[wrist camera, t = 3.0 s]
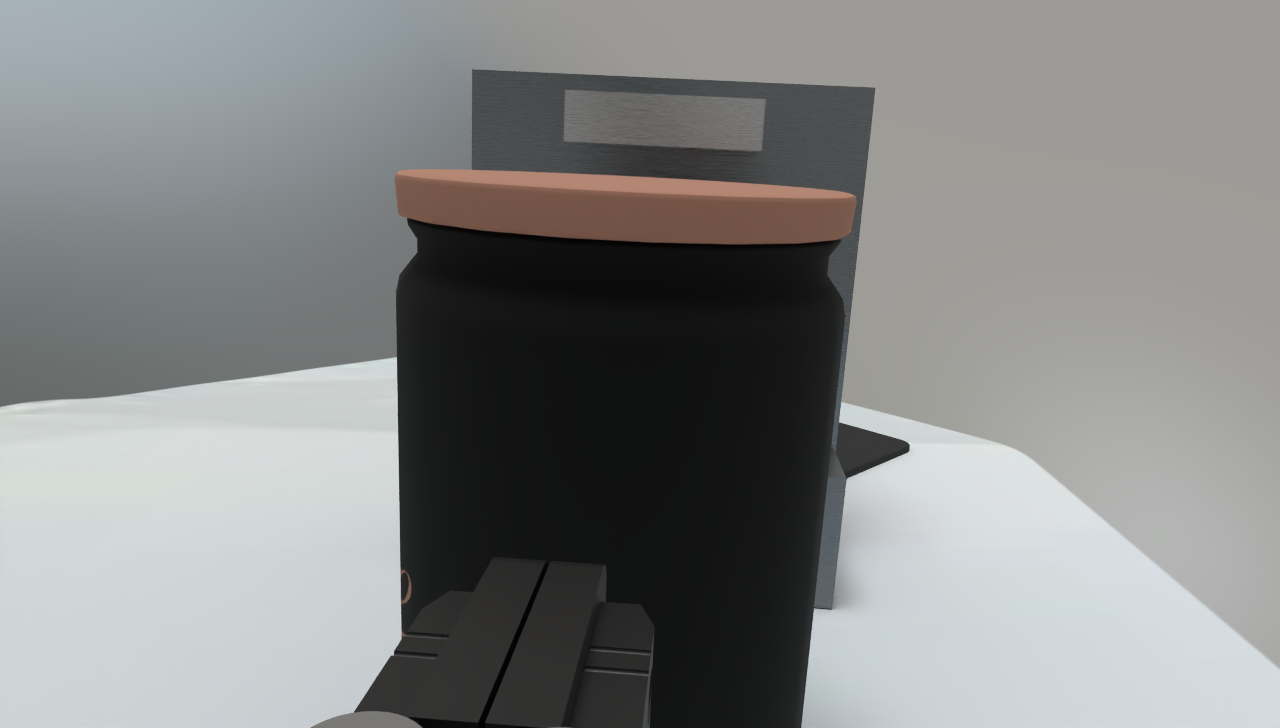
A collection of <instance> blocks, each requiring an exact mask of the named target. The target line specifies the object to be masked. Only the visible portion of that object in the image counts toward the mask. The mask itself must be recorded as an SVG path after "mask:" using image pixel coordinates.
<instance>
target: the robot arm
mask: <svg viewBox="0 0 1280 728" xmlns="http://www.w3.org/2000/svg"><path fill="white" fill-rule="evenodd" d="M653 644H654V625H653V623H652V622H651V620H650V619H649V617H648V615H647V614H646V612H645V610H644V609H643V607H642V606H641V605H640V604H627V603H614V602H606V565H603V564H590V563H576V562H562V561H551V562H550V564H549V562H548V561H545V560H531V559H518V558H504V557H494V558H493V559H492V560H491V562H490V563H489V565H488V567H487V569H486V571H485V572H484V574H483V576H482V578H481V580H480V581H479V583H478V585H477V587H476V588H475V590H474V592H464V591H449V592H447V593H446V594H444V595H442V596H441V597H439V598H438V599H436V600H435V601H433V602H432V603H430V604H429V605H427V606H425V607H424V608H422V609H421V611H420V613H419V614H418V616H417V617H416V619H415V620H414V622H413V623H412V625H411V626H410V628H409V629H408V631H407V635H406V636H404V637H403V638H402V640H401V641H400V643H399V644H398V646H397V647H396V649H395V651H394V656H391V657H390V658H389V660H388V661H387V663H386V664H385V666H384V667H383V669H382V670H381V672H380V673H379V675H378V676H377V678H376V679H375V681H374V682H373V684H372V685H371V687H370V689H369V690H368V692H367V693H366V695H365V696H364V698H363V699H362V701H361V702H360V704H359V705H358V707H357V708H356V710H355V711H354V713H350V714H345V715H341V716H337V717H334V718H331V719H328V720H326V721H323V722H321V723H319V724H317V725H315V726H313V727H311V728H649V727H650V706H651V686H652V665H653Z"/></svg>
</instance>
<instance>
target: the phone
mask: <svg viewBox="0 0 1280 728" xmlns="http://www.w3.org/2000/svg"><path fill="white" fill-rule="evenodd" d="M909 447H910V445H909V444H908V443H907V442H905V441H903V440H900V439H896V438H893V437H889V436H886V435H882V434H879V433H875V432H871V431H868V430H864V429H861V428H857V427H853V426H850V425H846V424H843V423H839V425H838V435H837V444H836V455H837V458H838V460H839V462H840V465H841V467H842V469H843V471H844V474H845V476H846V479H847V478H849V477H851V476H853V475H856V474H858V473H860V472H863V471H865V470H867V469H870V468H872V467H875V466H877V465H879V464H882V463H884V462H886V461H889V460H891V459H893V458H896V457H898V456H900V455H903V454H905V453H907V452H908V451H909Z"/></svg>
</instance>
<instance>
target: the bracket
mask: <svg viewBox="0 0 1280 728" xmlns="http://www.w3.org/2000/svg"><path fill="white" fill-rule="evenodd" d="M874 95H875V88H868V87H846V86H824V85H802V84H779V83H757V82H735V81H714V80H692V79H690V80H689V79H670V78H647V77H625V76H604V75H582V74H581V75H580V74H559V73H538V72H516V71H494V70H472V170H491V171H522V172H548V173H572V174H594V175H615V176H635V177H654V178H672V179H689V180H706V181H722V182H736V183H751V184H766V185H778V186H791V187H803V188H814V189H823V190H833V191H840V192H845V193H850V194H852V195H854V196H856V200H857V203H856V208H855V213H854V219H853V224H852V229H851V232H850V234H848V235H846V236H844V237H842V238H840V239H841V243H840V244H839V245H838V246H837V248H836V249H835V250H834V251H833V253H832V254H831V255H830V256H829V263H828V273H827V276H828V277H829V279H830V280H831V282H832V283H833V285H834V286H835V288H836V289H837V291H838V292H839V294H840V296H841V297H842V299H843V303H844V311H845V323H844V332H843V342H842V351H841V360H840V369H839V379H838V388H837V397H836V407H835V416H834V425H833V435H832V444H831V453H830V462H829V472H828V481H827V490H826V500H825V509H824V518H823V528H822V537H821V546H820V556H819V565H818V574H817V583H816V593H815V602H814V607H815V608H827V609H832V602H833V593H834V585H835V576H836V567H837V558H838V549H839V540H840V531H841V523H842V514H843V505H844V496H845V487H846V476H845V474H844V471H843V469H842V467H841V465H840V462H839V460H838V458H837V455H836V444H837V435H838V425H839V416H840V407H841V397H842V388H843V379H844V370H845V361H846V352H847V343H848V334H849V324H850V315H851V306H852V297H853V288H854V278H855V269H856V260H857V251H858V242H859V233H860V223H861V213H862V205H863V196H864V187H865V178H866V168H867V159H868V150H869V141H870V132H871V121H872V113H873V104H874Z"/></svg>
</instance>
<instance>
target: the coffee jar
mask: <svg viewBox="0 0 1280 728" xmlns="http://www.w3.org/2000/svg"><path fill="white" fill-rule="evenodd" d="M395 185H396V196H397V205H398V213H399V215H400V216H402V217H407V221H408V225H409V227H410V228H411V230H412V231H413V233H414V234H415V236H416V237H417V248H418V249H417V251H418V252H417V254H416V255H415V256H414V257H413V259H412V260H411V261H410V262H409V264H408V265H407V266H406V267H405V269H404V270H403V271H402V272H401V274H400V276H399V281H398V285H397V290H396V318H397V319H396V321H397V381H398V441H399V501H400V561H401V621H402V638H403V637H404V636H406V635H407V631H408V629H409V628H410V626H411V625H412V623H413V622H414V620H415V619H416V617H417V616H418V614H419V613H420V611H421V609H422V608H424V607H425V606H427V605H429V604H430V603H432V602H433V601H435V600H436V599H438V598H439V597H441V596H442V595H444V594H446V593H447V592H449V591H464V592H474V590H475V588H476V587H477V585H478V583H479V581H480V580H481V578H482V576H483V574H484V572H485V571H486V569H487V567H488V565H489V563H490V562H491V560H492V559H493V558H494V557H504V558H518V559H531V560H545V561H548V562H549V564H550V562H551V561H562V562H576V563H590V564H603V565H606V602H614V603H627V604H640V605H641V606H642V607H643V609H644V610H645V612H646V614H647V615H648V617H649V619H650V620H651V622H652V623H653V625H654V644H653V665H652V686H651V706H650V727H649V728H801V723H802V714H803V704H804V695H805V686H806V676H807V667H808V658H809V649H810V639H811V630H812V621H813V611H814V602H815V593H816V583H817V574H818V565H819V556H820V546H821V537H822V528H823V518H824V509H825V500H826V490H827V481H828V472H829V462H830V453H831V444H832V435H833V425H834V416H835V407H836V397H837V388H838V379H839V369H840V360H841V351H842V342H843V332H844V323H845V311H844V303H843V299H842V297H841V296H840V294H839V292H838V291H837V289H836V288H835V286H834V285H833V283H832V282H831V280H830V279H829V277H828V276H827V273H828V263H829V256H830V255H831V254H832V253H833V251H834V250H835V249H836V248H837V246H838V245H839V244H840V243H841V239H840V238H842V237H844V236H846V235H848V234H850V232H851V229H852V224H853V219H854V213H855V208H856V203H857V200H856V196H854V195H852V194H850V193H845V192H840V191H833V190H823V189H814V188H803V187H791V186H778V185H766V184H751V183H736V182H722V181H706V180H689V179H672V178H654V177H635V176H615V175H594V174H572V173H548V172H522V171H491V170H443V169H440V170H439V169H436V170H435V169H418V170H401V171H398V172H397V173H396V176H395Z"/></svg>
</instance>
